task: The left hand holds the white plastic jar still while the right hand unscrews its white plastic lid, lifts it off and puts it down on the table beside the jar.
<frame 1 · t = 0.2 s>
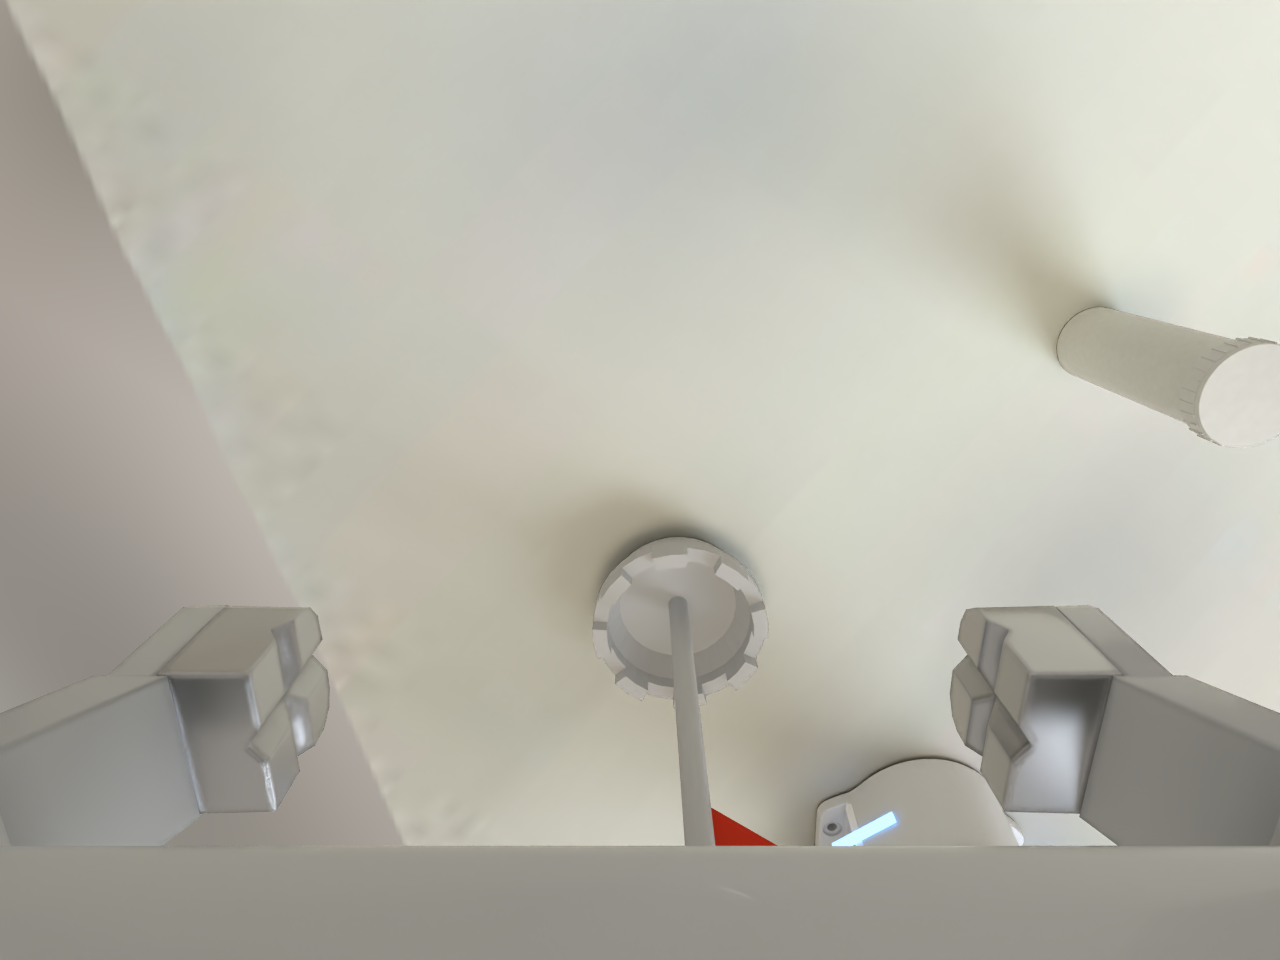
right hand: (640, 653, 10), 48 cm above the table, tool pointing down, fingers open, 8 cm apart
flag stand: (677, 598, 64), on the table
lid: (1249, 395, 42), point 16 cm above the table, screwed on, not yet turned
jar: (1092, 342, 57), on the table
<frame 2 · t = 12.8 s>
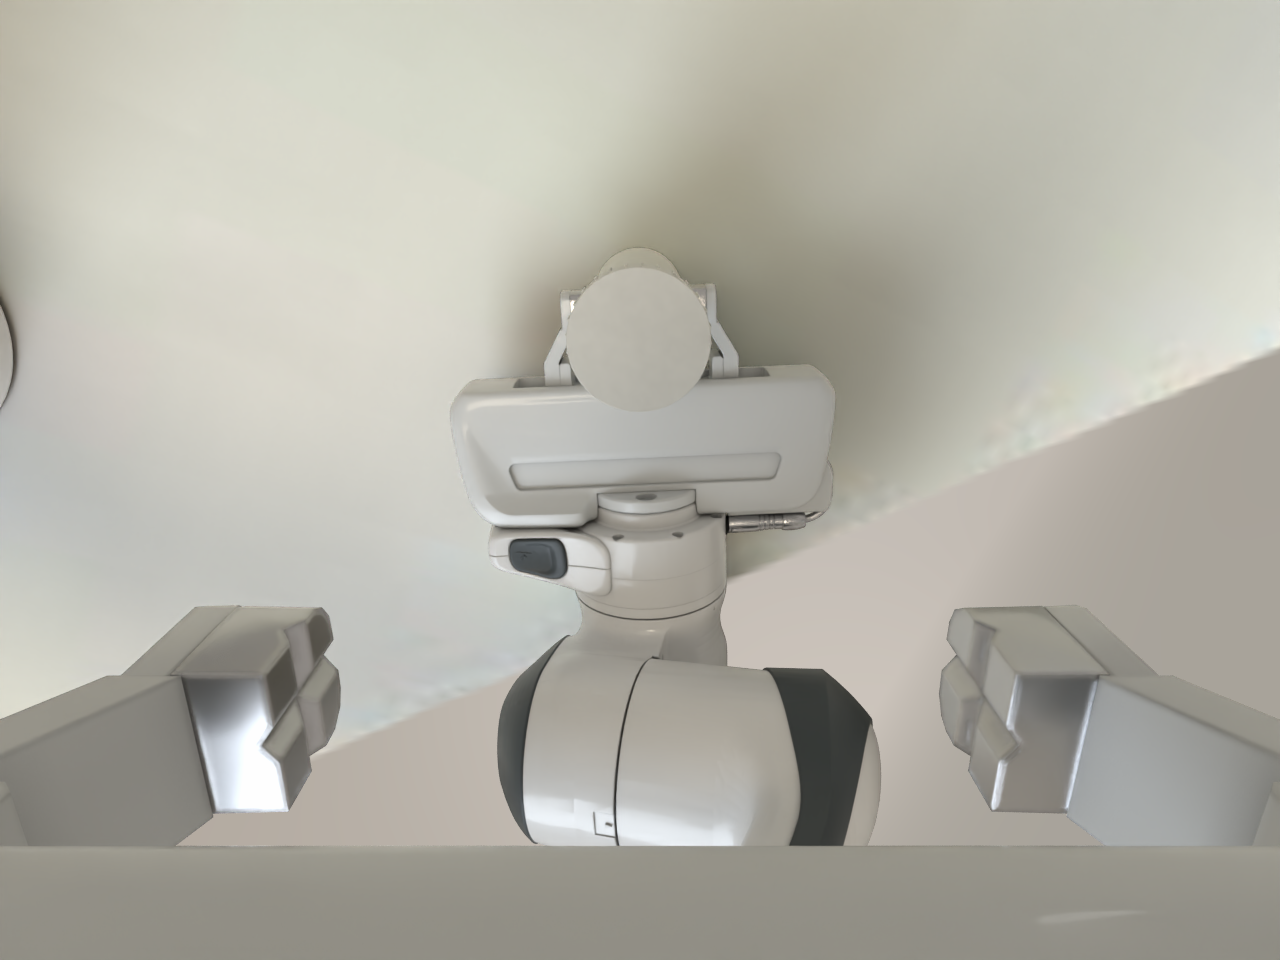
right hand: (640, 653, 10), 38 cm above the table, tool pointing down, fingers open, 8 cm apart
left hand: (636, 287, 40), fingers closed on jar, 5 cm apart
lid: (638, 340, 31), point 16 cm above the table, screwed on, not yet turned
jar: (638, 292, 46), on the table, touching left hand
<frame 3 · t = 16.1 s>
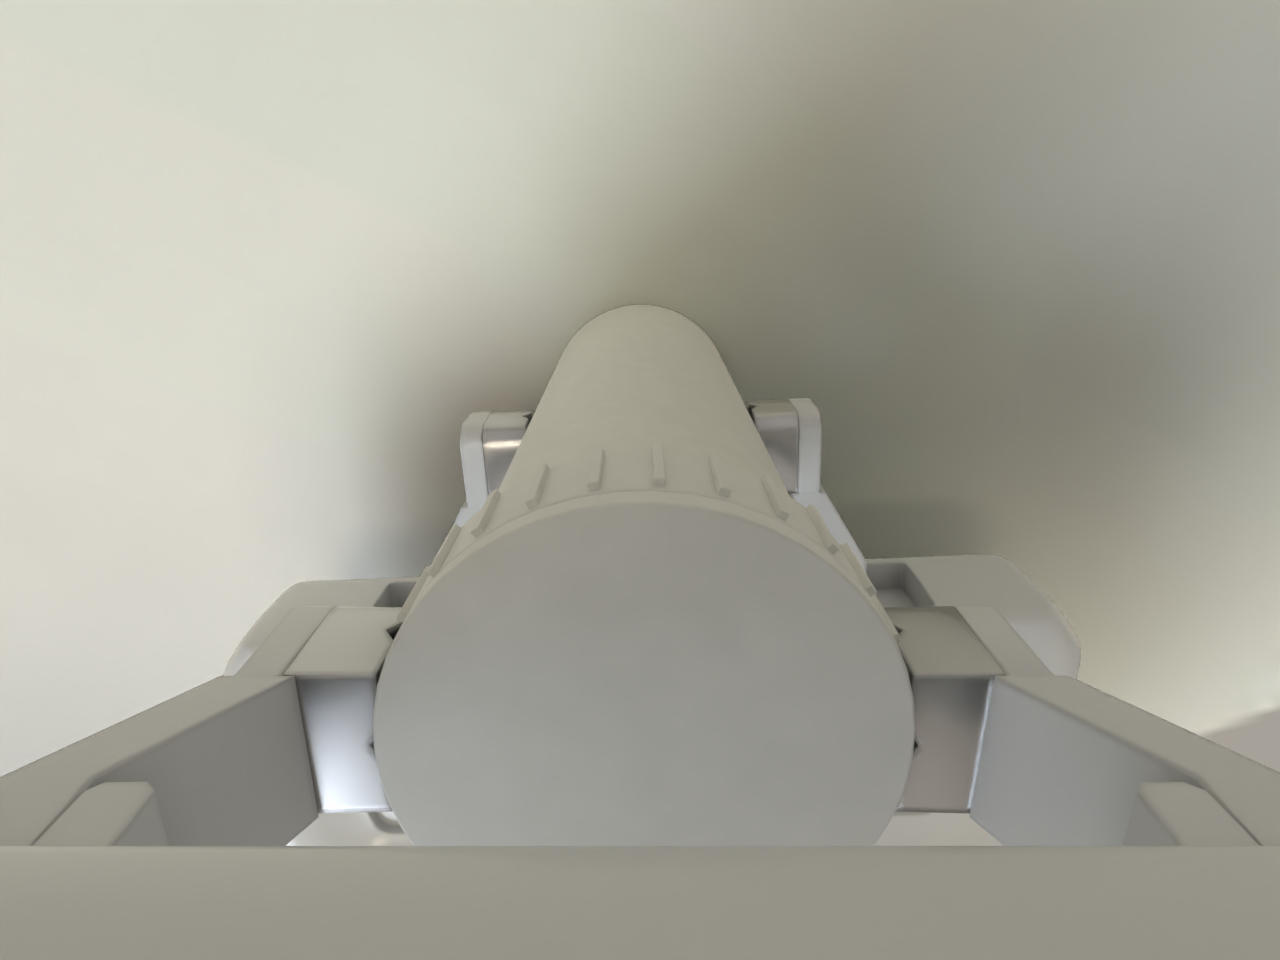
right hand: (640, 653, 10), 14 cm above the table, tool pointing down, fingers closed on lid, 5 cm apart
lid: (644, 732, 9), point 16 cm above the table, screwed on, not yet turned, touching right hand
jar: (640, 391, 23), on the table, touching left hand
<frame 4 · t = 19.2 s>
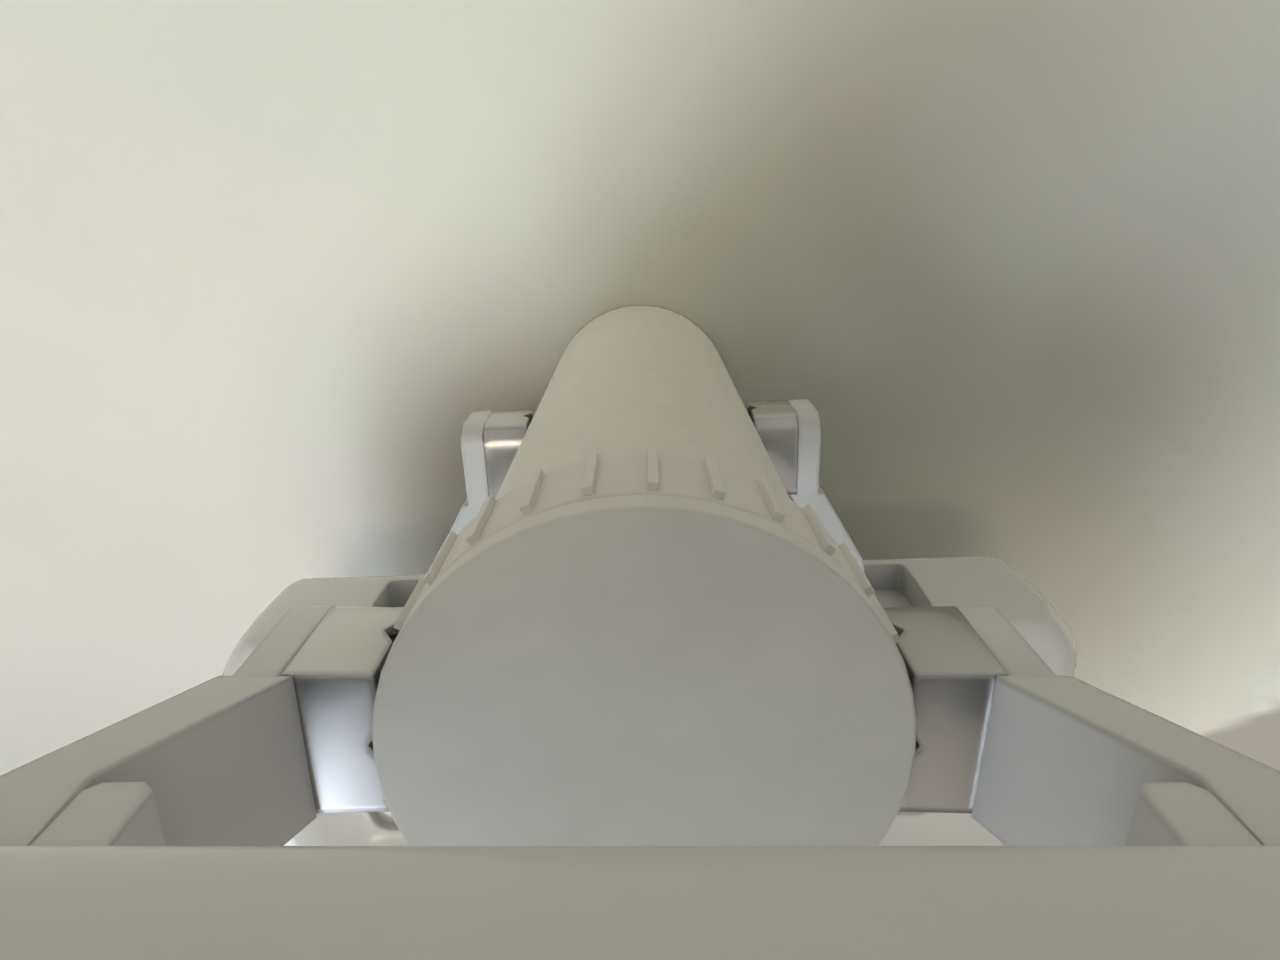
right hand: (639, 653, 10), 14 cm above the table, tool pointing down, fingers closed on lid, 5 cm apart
lid: (644, 737, 9), point 16 cm above the table, turned 79° so far, risen 0.1 cm, still on its thread, touching right hand
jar: (640, 392, 23), on the table, touching left hand
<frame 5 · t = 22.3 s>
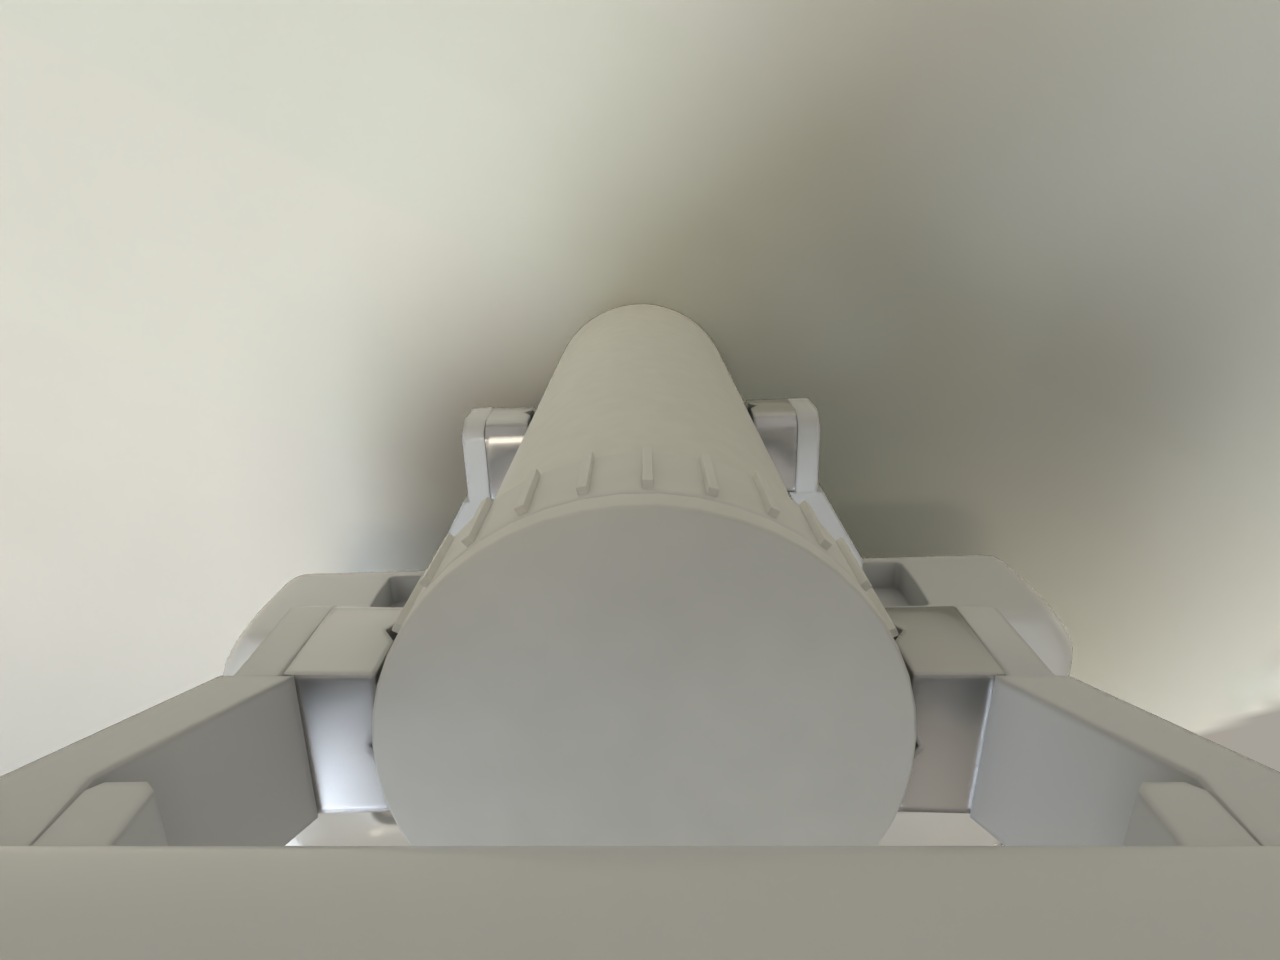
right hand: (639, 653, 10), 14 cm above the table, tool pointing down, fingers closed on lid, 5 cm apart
lid: (644, 735, 9), point 16 cm above the table, turned 157° so far, risen 0.3 cm, still on its thread, touching right hand
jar: (641, 390, 23), on the table, touching left hand
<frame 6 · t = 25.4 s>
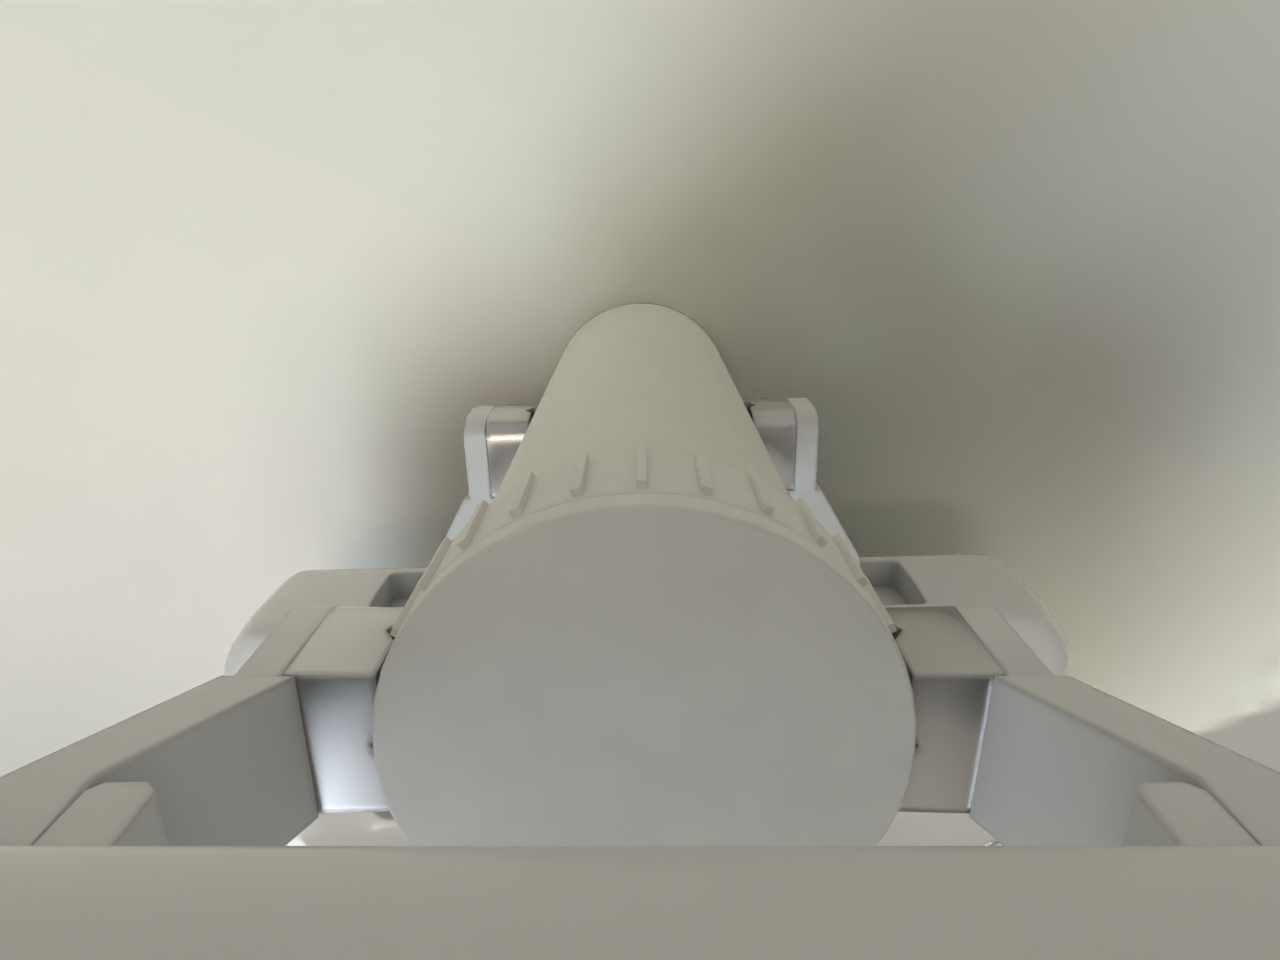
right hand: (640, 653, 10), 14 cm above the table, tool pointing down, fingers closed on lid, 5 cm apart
lid: (644, 736, 9), point 16 cm above the table, turned 236° so far, risen 0.4 cm, still on its thread, touching right hand
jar: (641, 389, 24), on the table, touching left hand
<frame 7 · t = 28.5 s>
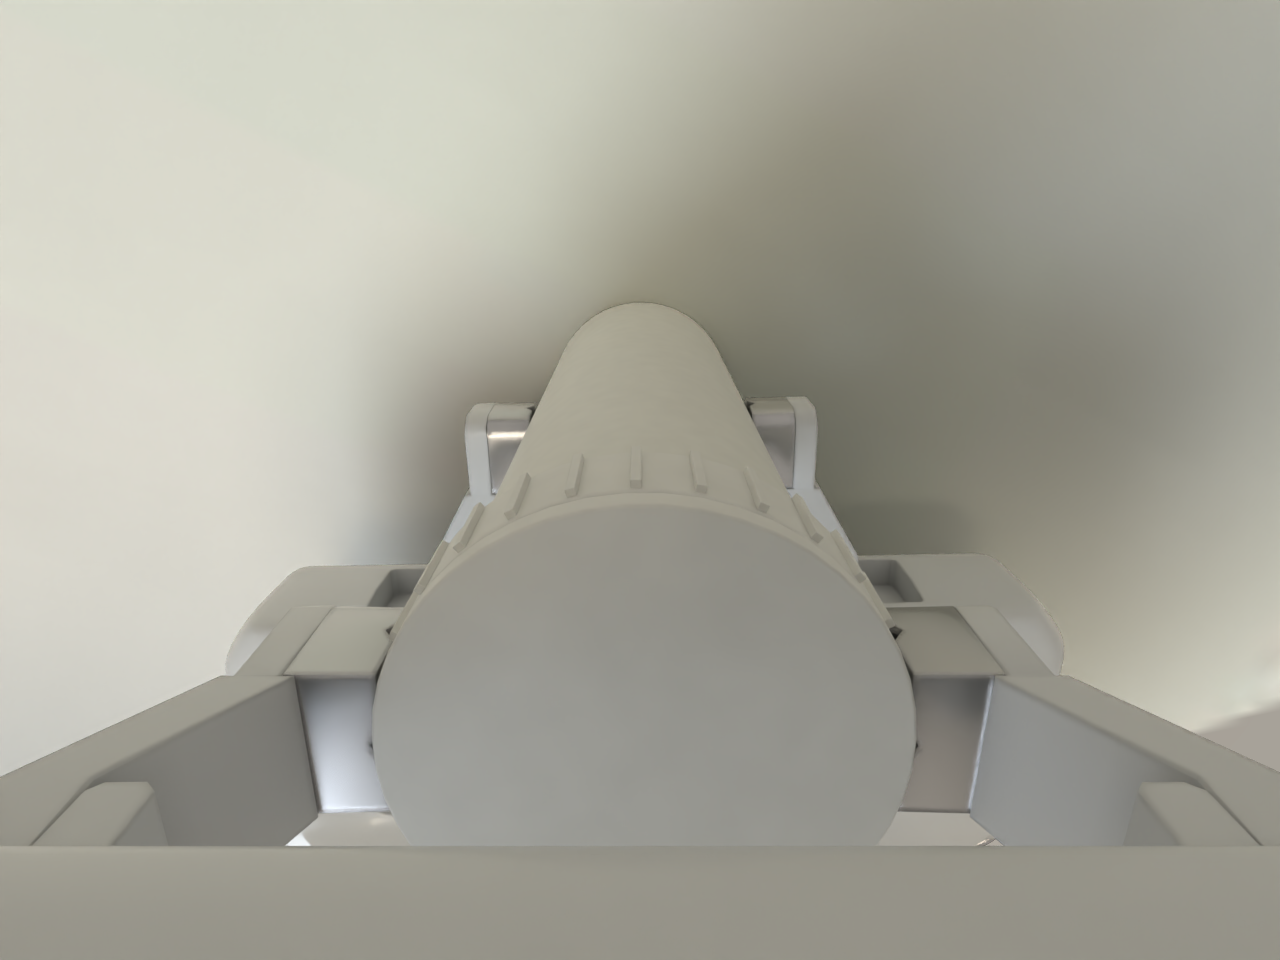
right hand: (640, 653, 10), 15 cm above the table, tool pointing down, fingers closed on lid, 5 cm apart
lid: (644, 735, 9), point 16 cm above the table, turned 314° so far, risen 0.5 cm, still on its thread, touching right hand
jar: (641, 387, 24), on the table, touching left hand
when the right hand's fingers open (2 cm above the table, at t = 39.8 s): lid drops 2 cm, point 1 cm above the table.
when the left hand's fingers open (5 cm above the table, at t = 40.8 s): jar stays where it is, on the table.
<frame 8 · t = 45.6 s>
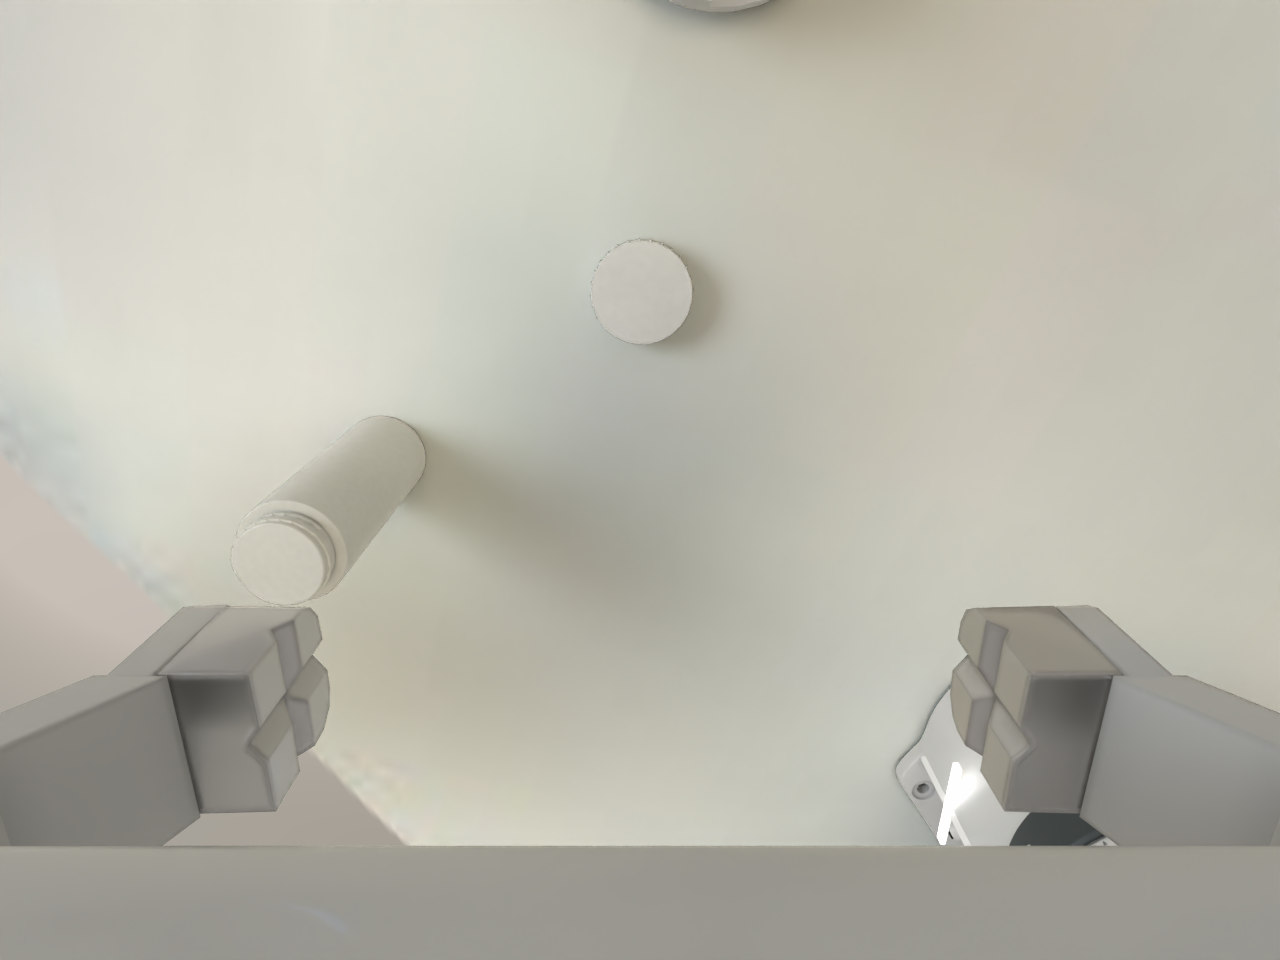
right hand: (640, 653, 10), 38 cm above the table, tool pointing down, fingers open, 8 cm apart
lid: (641, 293, 45), point 1 cm above the table, off its thread
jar: (385, 454, 49), on the table
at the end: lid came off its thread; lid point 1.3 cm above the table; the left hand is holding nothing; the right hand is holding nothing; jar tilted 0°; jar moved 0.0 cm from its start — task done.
